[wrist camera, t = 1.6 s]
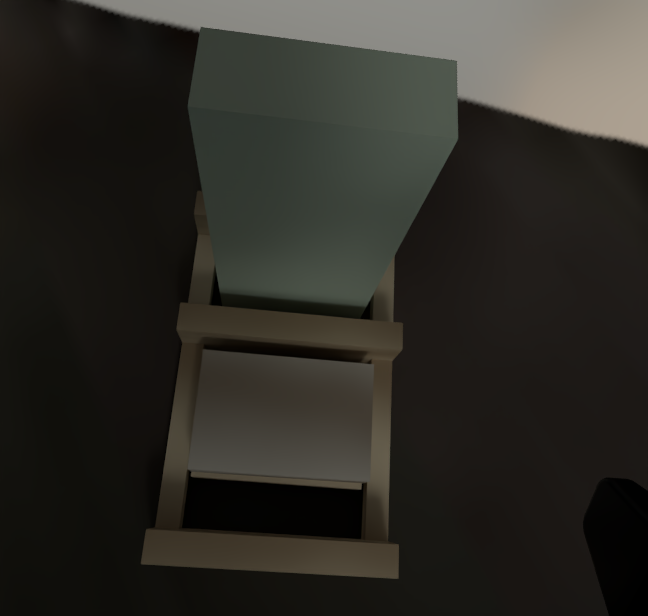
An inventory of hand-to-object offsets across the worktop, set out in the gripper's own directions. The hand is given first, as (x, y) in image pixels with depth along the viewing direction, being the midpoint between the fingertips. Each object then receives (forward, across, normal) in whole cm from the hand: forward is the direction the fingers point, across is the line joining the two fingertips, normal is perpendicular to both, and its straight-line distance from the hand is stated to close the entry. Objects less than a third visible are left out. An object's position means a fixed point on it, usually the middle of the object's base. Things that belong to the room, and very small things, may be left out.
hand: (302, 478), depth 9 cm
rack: (+12, 0, +7) cm, 14 cm away
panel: (+15, 0, +4) cm, 16 cm away
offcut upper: (+11, 0, +7) cm, 13 cm away
